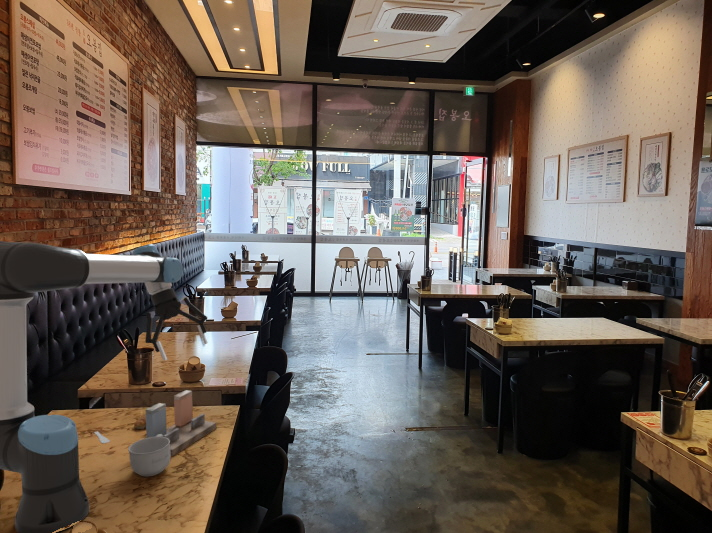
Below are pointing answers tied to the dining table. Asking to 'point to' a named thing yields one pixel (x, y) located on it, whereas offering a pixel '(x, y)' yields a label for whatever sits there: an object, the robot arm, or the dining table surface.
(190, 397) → the pink upright block
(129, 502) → the dining table surface
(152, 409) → the grey rectangular block
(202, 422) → the taupe stand
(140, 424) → the pastry
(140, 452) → the teacup
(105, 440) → the butter knife
